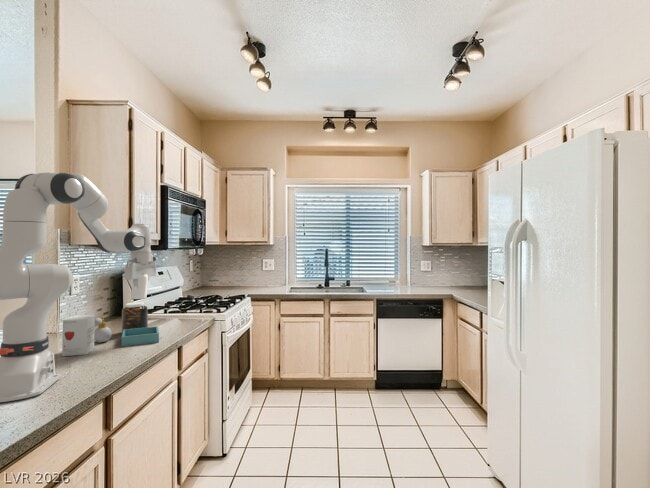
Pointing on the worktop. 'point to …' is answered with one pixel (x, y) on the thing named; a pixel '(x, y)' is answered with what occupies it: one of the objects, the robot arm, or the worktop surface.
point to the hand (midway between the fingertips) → (140, 287)
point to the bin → (140, 336)
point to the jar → (134, 316)
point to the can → (140, 288)
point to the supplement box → (78, 335)
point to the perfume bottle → (101, 331)
